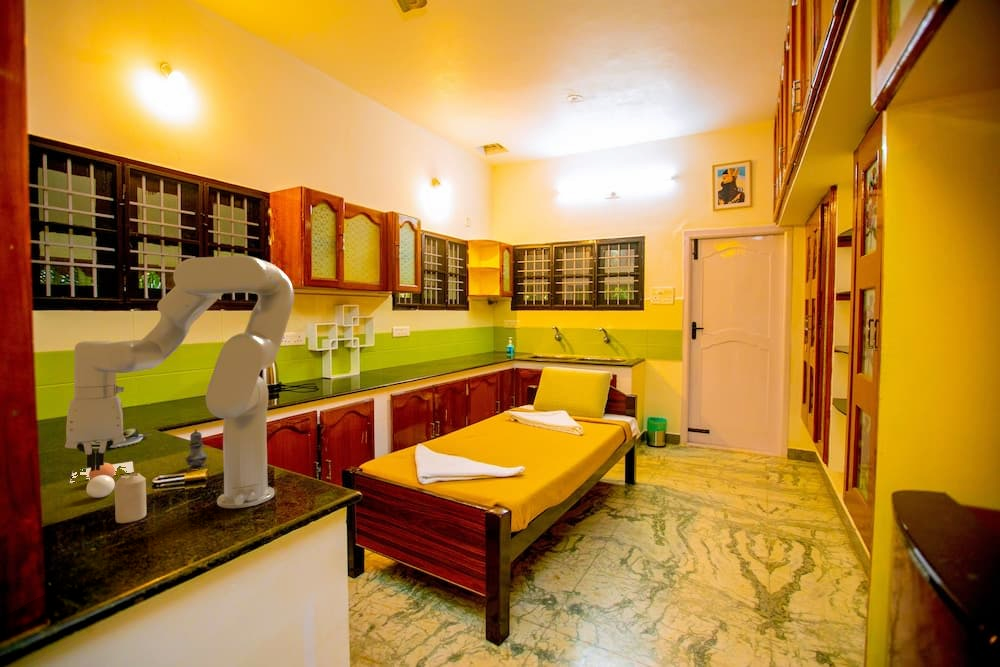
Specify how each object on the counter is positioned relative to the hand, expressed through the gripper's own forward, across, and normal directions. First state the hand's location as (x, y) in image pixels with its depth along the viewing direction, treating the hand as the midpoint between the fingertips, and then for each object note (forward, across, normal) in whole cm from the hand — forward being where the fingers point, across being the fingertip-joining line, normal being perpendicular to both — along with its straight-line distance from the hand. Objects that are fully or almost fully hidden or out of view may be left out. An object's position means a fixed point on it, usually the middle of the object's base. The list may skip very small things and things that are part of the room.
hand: (95, 469), depth 110 cm
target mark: (+10, -1, -35) cm, 36 cm away
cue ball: (+7, -1, -9) cm, 11 cm away
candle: (+9, -6, +13) cm, 17 cm away
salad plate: (+11, -4, -76) cm, 77 cm away
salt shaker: (+10, -23, -21) cm, 32 cm away
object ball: (+7, -1, -23) cm, 24 cm away
